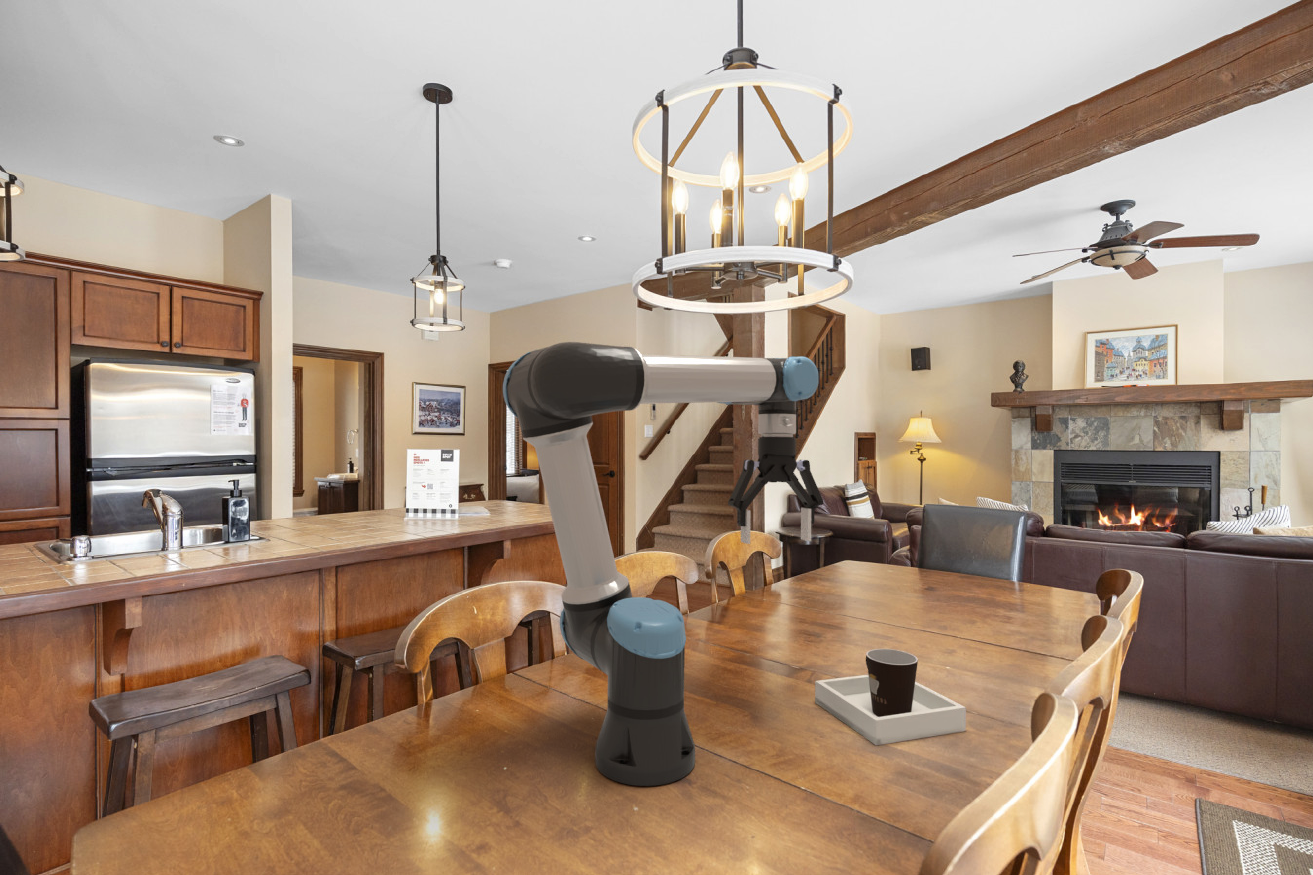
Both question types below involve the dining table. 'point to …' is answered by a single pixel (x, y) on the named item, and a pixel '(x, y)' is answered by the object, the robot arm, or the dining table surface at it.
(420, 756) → the dining table surface
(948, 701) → the white tray
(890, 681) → the coffee mug
